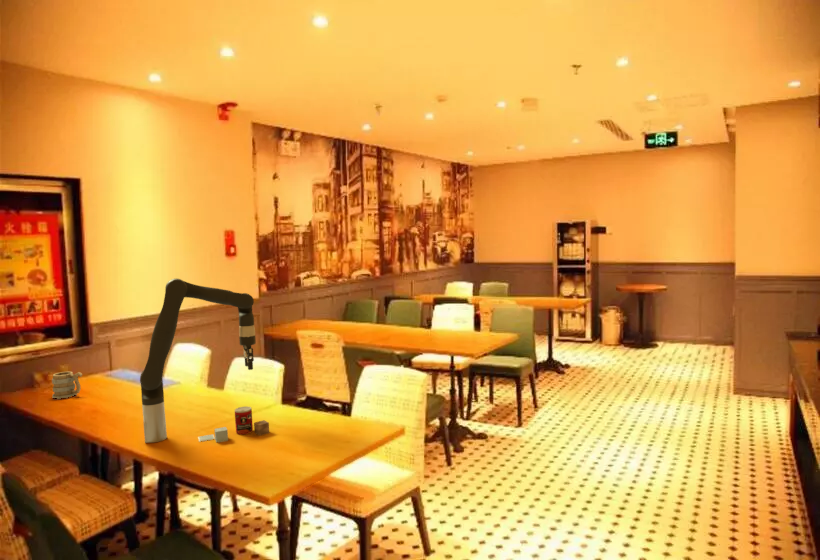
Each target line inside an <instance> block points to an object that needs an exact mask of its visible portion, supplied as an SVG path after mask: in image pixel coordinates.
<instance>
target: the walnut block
mask: <svg viewBox="0 0 820 560" xmlns="http://www.w3.org/2000/svg"><path fill="white" fill-rule="evenodd" d="M253 429H254V434H256V435H258V436H264V435H266V434H267V435H268V434H270V423H269V422H268V421H267V420H260V421H256V422H255V421H254V422H253Z"/></svg>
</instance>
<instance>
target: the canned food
mask: <svg viewBox="0 0 820 560" xmlns="http://www.w3.org/2000/svg"><path fill="white" fill-rule="evenodd" d="M234 421H235V432H236V434H237V435H248V434H250V433H252V432H253V429H254V423H253V411H252V407H251V406H240V407H237V408H235V409H234Z"/></svg>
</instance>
